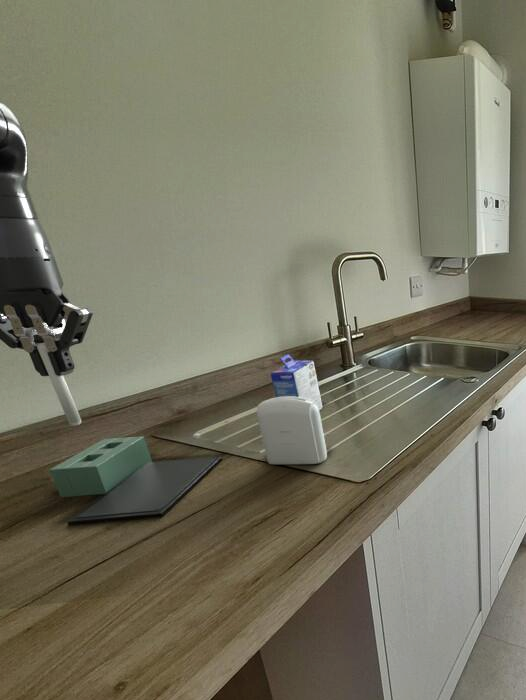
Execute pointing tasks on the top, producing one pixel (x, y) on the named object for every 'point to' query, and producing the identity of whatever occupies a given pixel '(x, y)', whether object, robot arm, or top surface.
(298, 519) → the top surface
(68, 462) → the pen stand
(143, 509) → the tablet
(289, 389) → the ink cartridge box
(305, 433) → the photo printer
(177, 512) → the top surface
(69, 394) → the stylus
